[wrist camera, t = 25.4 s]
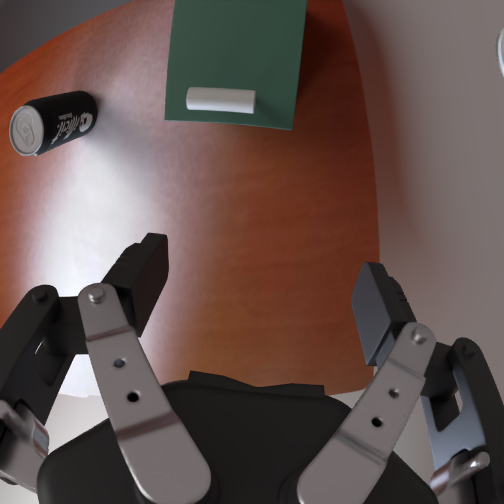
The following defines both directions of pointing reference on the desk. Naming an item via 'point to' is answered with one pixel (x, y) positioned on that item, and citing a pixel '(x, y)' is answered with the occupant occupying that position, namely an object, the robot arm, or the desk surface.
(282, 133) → the desk surface
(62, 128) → the beverage can
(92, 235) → the desk surface
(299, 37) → the lid
